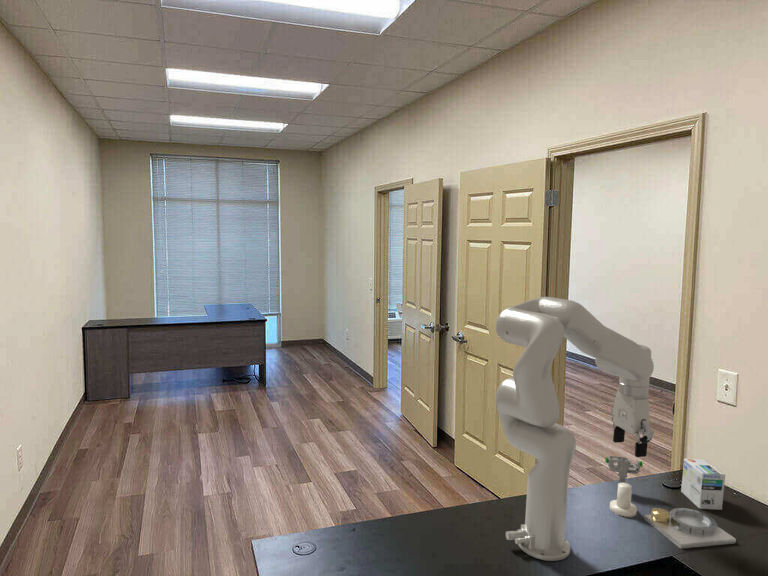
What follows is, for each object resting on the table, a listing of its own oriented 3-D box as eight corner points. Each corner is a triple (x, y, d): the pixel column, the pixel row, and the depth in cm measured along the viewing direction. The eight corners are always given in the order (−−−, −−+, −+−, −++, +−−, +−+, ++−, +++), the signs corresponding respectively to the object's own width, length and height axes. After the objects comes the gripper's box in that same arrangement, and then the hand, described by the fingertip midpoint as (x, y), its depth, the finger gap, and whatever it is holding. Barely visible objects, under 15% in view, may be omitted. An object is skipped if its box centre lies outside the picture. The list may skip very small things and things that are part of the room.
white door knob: (619, 518, 152) (621, 492, 151) (604, 505, 159) (606, 480, 158) (642, 516, 153) (644, 490, 152) (626, 503, 160) (628, 479, 159)
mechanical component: (640, 494, 166) (643, 462, 164) (604, 490, 168) (606, 459, 166) (638, 490, 168) (640, 458, 167) (602, 486, 170) (605, 455, 169)
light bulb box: (722, 510, 158) (726, 474, 157) (699, 509, 158) (702, 473, 157) (701, 492, 169) (705, 458, 167) (679, 491, 169) (683, 457, 167)
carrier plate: (680, 548, 138) (681, 536, 138) (643, 519, 152) (644, 508, 151) (735, 543, 141) (736, 531, 141) (694, 514, 155) (695, 503, 154)
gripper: (602, 381, 160) (599, 437, 162) (641, 400, 143) (637, 463, 145) (626, 379, 161) (622, 436, 163) (667, 399, 144) (662, 461, 146)
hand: (629, 448), depth 154 cm, fingers open, 9 cm apart
